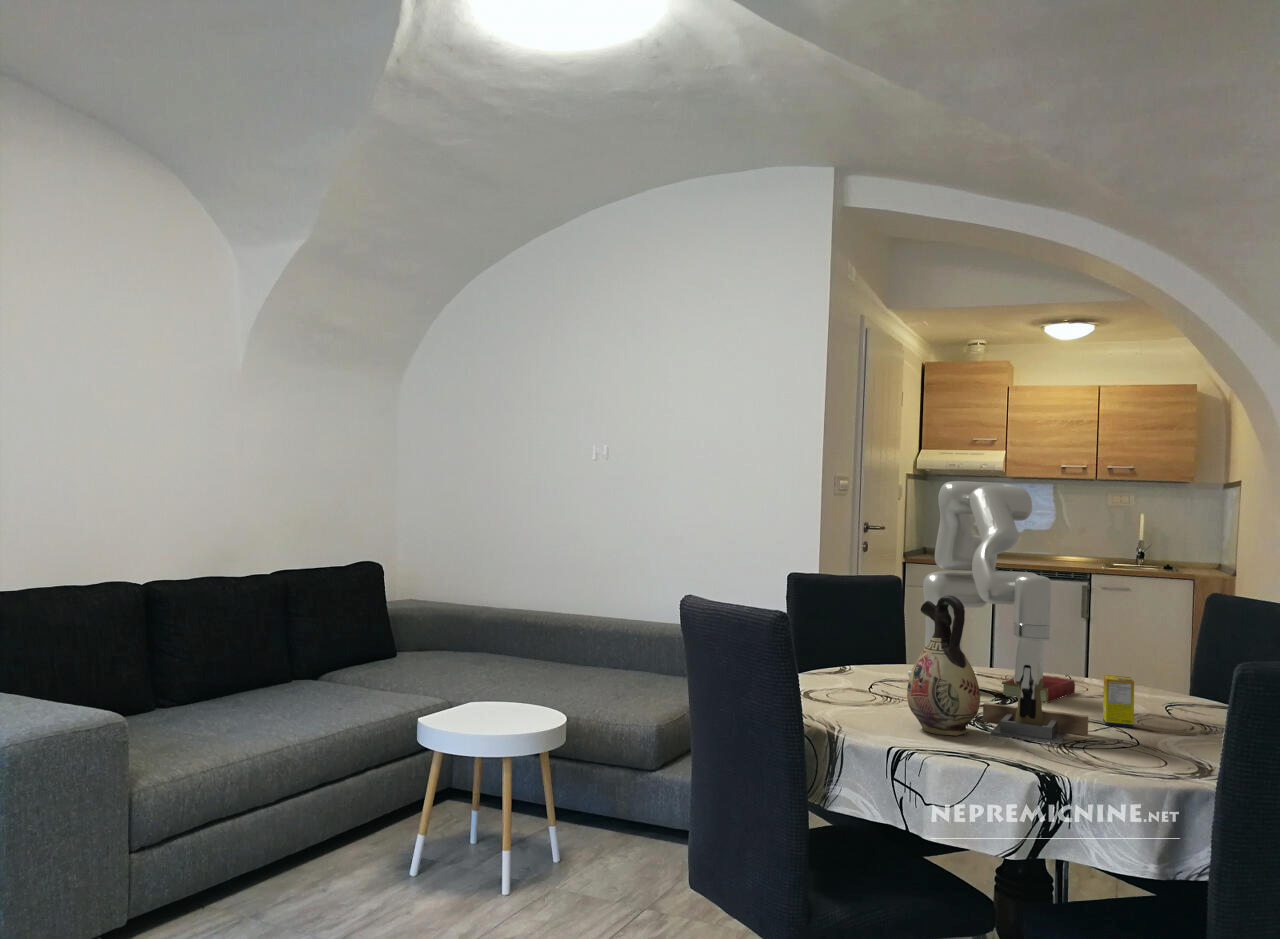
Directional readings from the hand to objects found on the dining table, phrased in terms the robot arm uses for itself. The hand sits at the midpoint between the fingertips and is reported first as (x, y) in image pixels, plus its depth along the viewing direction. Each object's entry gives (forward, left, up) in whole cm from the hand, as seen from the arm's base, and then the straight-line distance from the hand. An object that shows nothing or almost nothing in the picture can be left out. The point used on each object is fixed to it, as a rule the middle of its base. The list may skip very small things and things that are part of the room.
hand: (1029, 714), depth 217 cm
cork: (0, 0, -2) cm, 2 cm away
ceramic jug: (-16, -10, -4) cm, 19 cm away
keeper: (0, 0, -4) cm, 4 cm away
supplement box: (+16, +25, -4) cm, 30 cm away
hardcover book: (-5, +53, -5) cm, 53 cm away
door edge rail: (0, +8, -4) cm, 9 cm away
